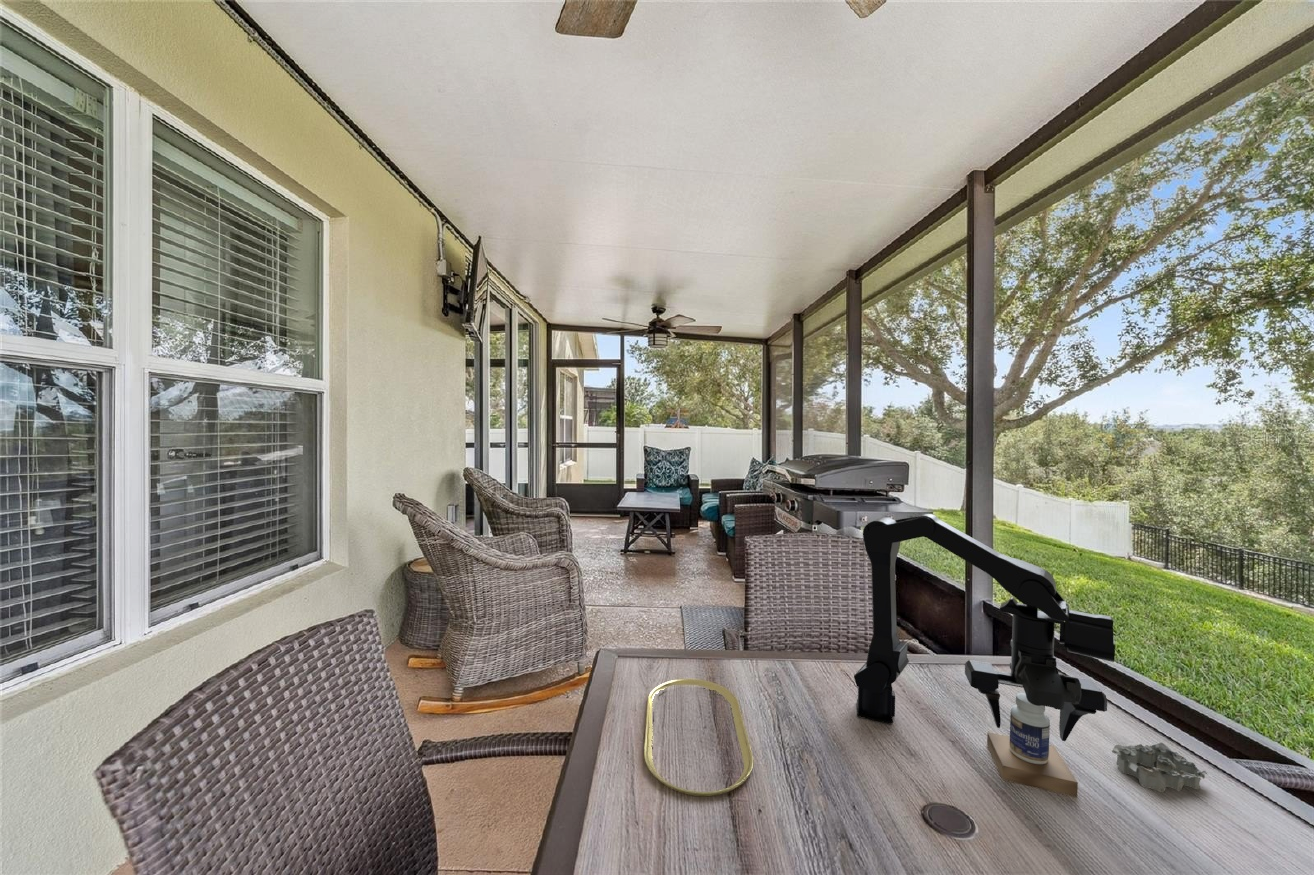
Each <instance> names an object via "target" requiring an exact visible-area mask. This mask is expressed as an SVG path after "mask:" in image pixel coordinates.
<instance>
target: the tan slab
mask: <svg viewBox="0 0 1314 875" xmlns="http://www.w3.org/2000/svg"><path fill="white" fill-rule="evenodd" d="M986 733H987V734H986V736H987V738H986V740H987V741H986V744H987V745H986V747H987V748H988V750H989V752H990V755H991V757H992V759H993V761H994V764H995V766H996V768H997V770H998V773H999V776H1000V777H1001V780H1002V781H1006V782H1010V783H1013V784H1014V783H1015V784H1018V785H1022V786H1025V787H1026V786H1027V787H1031V788H1036V789H1040V790H1044V791H1047V792H1048V791H1049V792H1052V793H1057V794H1062V795H1066V796H1070V797H1074V798H1078V794H1079V793H1078V788H1079V787H1078V786H1079V785H1078V784H1079V782H1078V780H1077V779H1076V777H1075V776H1074V774H1073V773H1072V771H1071V769H1070V768H1069V767H1068V765H1067V763H1066V762H1065V761H1064V759H1063V757H1062V756H1061V755H1060V753H1059V750H1057V748H1056V747H1055V745H1052V744H1049V757H1048V762H1047V763H1045V764H1033V763H1029V762H1027V761H1024V760H1022V759H1020V758H1019V757H1017V756H1016V755H1014V754H1013V753H1012V752H1011V750H1010V735H1006V734H1005V735H1004V734H1001V733H996V732H995V733H994V732H992V731H991V732H990V731H987V732H986Z"/></svg>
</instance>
